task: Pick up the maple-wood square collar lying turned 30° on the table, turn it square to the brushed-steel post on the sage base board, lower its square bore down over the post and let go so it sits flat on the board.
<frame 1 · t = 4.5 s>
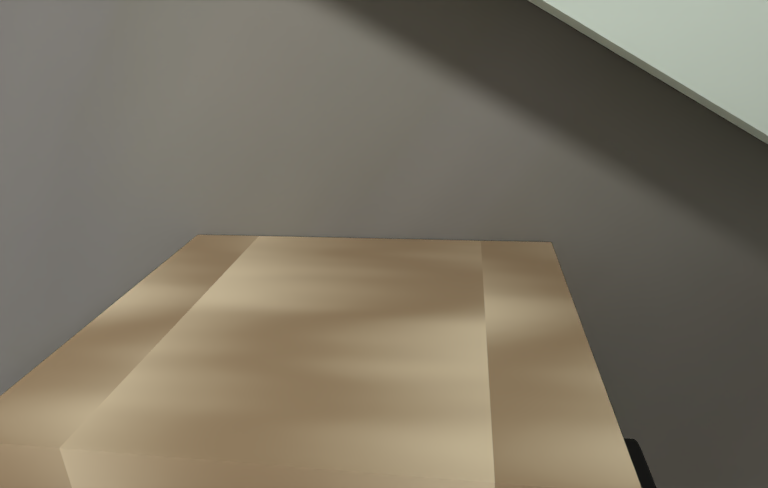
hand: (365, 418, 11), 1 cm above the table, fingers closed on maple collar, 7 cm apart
maple collar: (373, 386, 12), on the table, touching gripper
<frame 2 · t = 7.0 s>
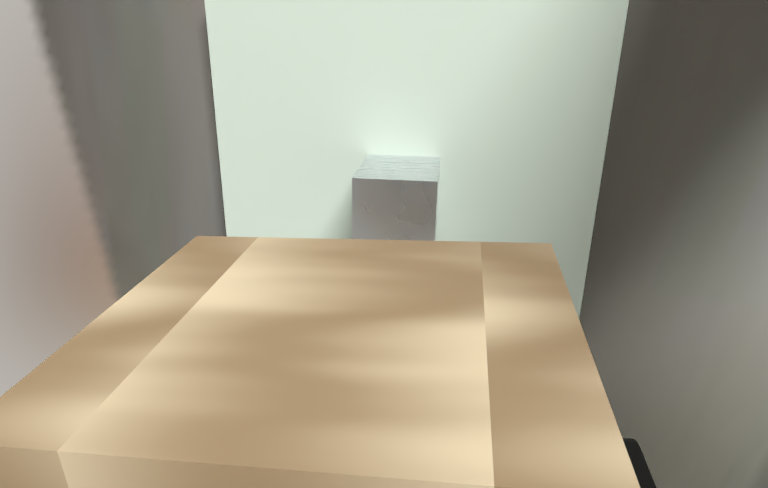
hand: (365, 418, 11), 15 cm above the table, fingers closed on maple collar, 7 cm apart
post board: (406, 181, 25), on the table
maple collar: (373, 388, 12), point 14 cm above the table, touching gripper
when the fingers open (4 cm above the table, at t = 9.7 s): maple collar drops 1 cm, resting on post board.
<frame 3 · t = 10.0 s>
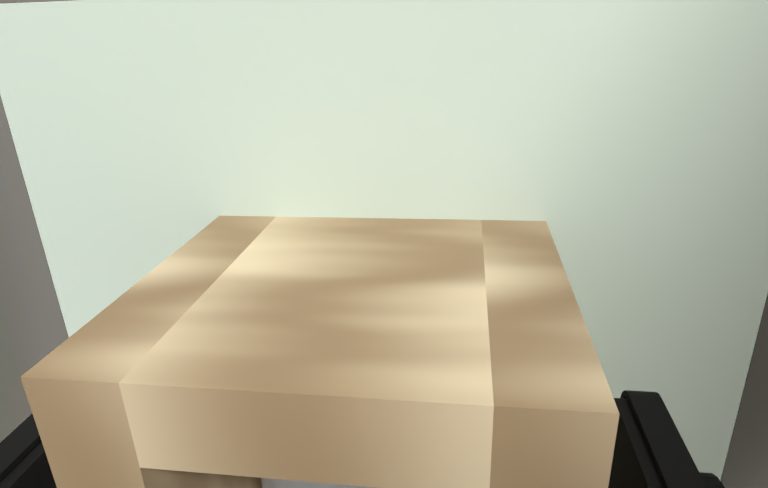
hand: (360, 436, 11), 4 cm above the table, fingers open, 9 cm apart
post board: (388, 327, 15), on the table
maple collar: (381, 358, 13), point 1 cm above the table, touching post board
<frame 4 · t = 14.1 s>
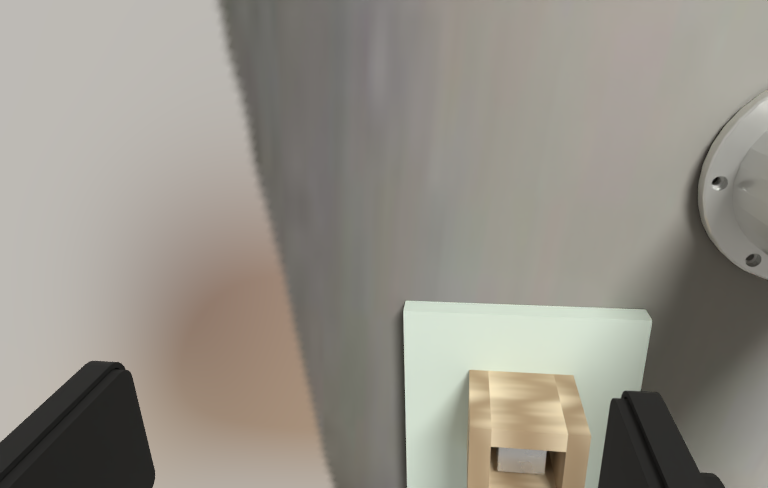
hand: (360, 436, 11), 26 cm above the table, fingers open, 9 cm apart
post board: (515, 401, 41), on the table
maple collar: (517, 413, 40), point 1 cm above the table, touching post board
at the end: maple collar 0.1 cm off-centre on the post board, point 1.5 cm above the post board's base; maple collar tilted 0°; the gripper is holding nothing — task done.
